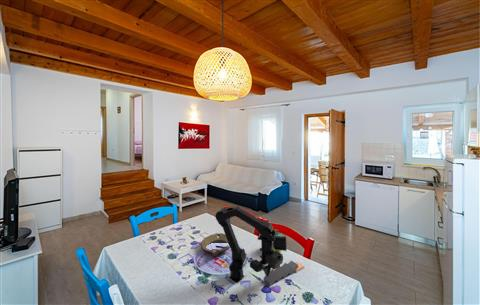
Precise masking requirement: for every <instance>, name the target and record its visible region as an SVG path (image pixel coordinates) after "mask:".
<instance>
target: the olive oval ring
mask: <svg viewBox="0 0 480 305" xmlns="http://www.w3.org/2000/svg"><path fill="white" fill-rule="evenodd" d="M211 243H228V240H227V238H226V235H225V233H224V232H223V233H222V232H220V233H217V232H216V233H215V234H214V233H212V234H210V235H208V236H206V237H204V238H203V239H202V240H201V243H200V247H201V249H202V251H204V252H206V253H209V254H212V256H214V257H217V256H218V255H219V254H221V253H224V252H226V251H228V250H229V249H230V250H231V248H230V246H227V247H225V248H222V249H219V250H217V249H218V248H217V249H212V250H209V249H207V248H206V246H207V245H209V244H211ZM228 244H229V243H228Z"/></svg>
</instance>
